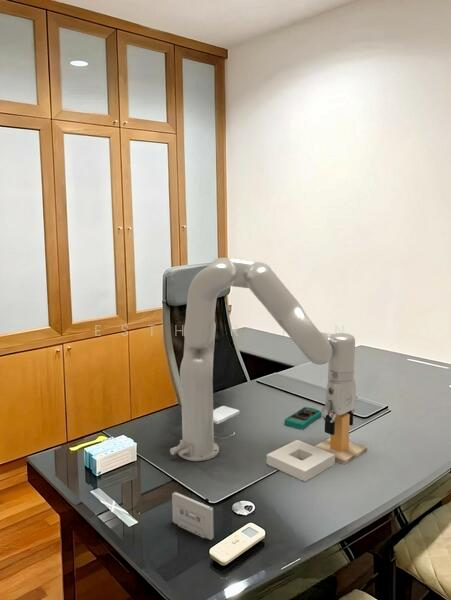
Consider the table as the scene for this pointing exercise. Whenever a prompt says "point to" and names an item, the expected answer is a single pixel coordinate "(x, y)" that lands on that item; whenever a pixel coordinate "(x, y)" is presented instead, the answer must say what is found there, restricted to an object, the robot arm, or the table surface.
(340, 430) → the plug
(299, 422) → the digital multimeter
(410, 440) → the table surface
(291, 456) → the white square holed plate
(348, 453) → the pad
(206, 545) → the table surface
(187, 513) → the cassette
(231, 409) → the hard drive
